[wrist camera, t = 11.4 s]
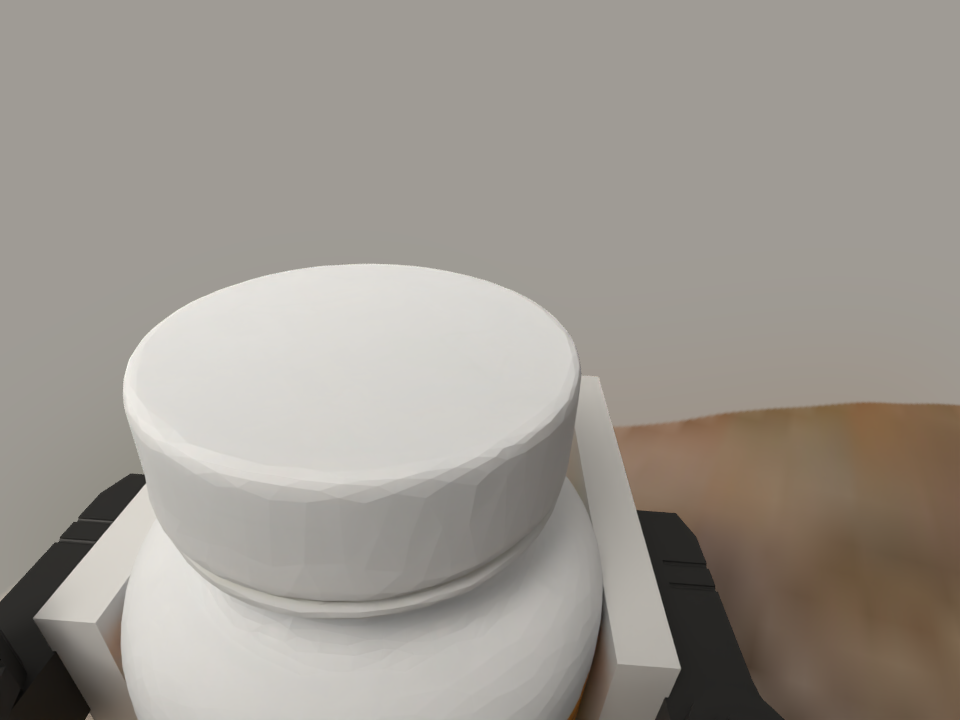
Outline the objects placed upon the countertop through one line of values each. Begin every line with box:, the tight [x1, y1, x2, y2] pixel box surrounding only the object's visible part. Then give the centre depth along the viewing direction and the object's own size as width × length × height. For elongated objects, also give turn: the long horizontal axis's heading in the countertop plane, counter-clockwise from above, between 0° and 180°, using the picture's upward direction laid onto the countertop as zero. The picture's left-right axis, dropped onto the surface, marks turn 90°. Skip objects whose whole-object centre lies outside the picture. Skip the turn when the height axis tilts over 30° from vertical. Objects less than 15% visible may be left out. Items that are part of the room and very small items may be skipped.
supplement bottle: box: [121, 264, 603, 720], centre depth 9 cm, size 6×6×11 cm
